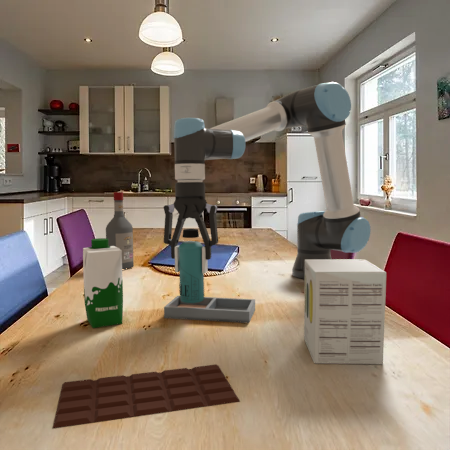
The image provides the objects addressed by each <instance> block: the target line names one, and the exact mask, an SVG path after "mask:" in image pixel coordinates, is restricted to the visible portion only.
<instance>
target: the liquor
mask: <svg viewBox="0 0 450 450" xmlns="http://www.w3.org/2000/svg"><path fill="white" fill-rule="evenodd" d="M123 200H124V192H123V191H114V192H113V203H114V204H113V205H114V206H113V207H114V209H113V211H114V212H113V213H114V214H113V217H112V219H111V220H110V221H109V222H108V223H107V225H106V227H105V238H106V239H108V242H109V246H115V247H117V248H119V249H120V250H122V269H126V268H131V267H133V268H134V265H135V264H134V262H135V261H134V234H133V230H134V228H133V225H132V224H131V222H130V221H129V220H128V219H127V218H126V217H125V213H124V201H123ZM131 269H132V268H131Z"/></svg>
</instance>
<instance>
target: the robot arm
mask: <svg viewBox="0 0 450 450" xmlns="http://www.w3.org/2000/svg"><path fill="white" fill-rule="evenodd" d="M351 110H352V100H351V97H350V95H349V93H348V91H347V90H346V88H345V87H344V86H343V85H342V84H341V83H338V82H334V81H331V82H324V83H319V84H317V85H316V84H315V85H313V86H309V87H306V88H299V89H296V90H294V91H292V92H290V93H288V94H286V95H284V96H282V97H281V98H278V99H275V100H274V101H271V102H269V103H268V104H267V105H266V107H264V108H261V109H258V110H255V111H253V112H251V113H247V114H245V115H243V116H240V117H237V118H234V119H231V120H230V121H226V122H223V123H221V124H218V125H215V126H212V127H209V128H208V127H206V126H205V121H204V120H203V119H202V118H199V117H182V118H178V119H176V120H175V122H174V129H173V141H174V179H175V181H177V182H175V183H174V193H175V195H174V196H175V199H174V202H173V204H166V205H164V206H163V211H164V214H165V215H164V229H163V244H165V245H166V244H167V245H169V246H170V253H171V254H170V257H171V259H174V272H175V273H178V272H179V273H180V268H179V246H180V245H181V244H179V242H180V241H179V240H180V237H181V234H182V232H183V228H184V224H185V222H186V219H192V220H193V219H194V220H195V222H196V223H197V226H198V231H199V232H200V236H201V238H202V241H203V244H204V246H203V247H202V273H204V274H206V273H207V272H208V271H209V270H208V269H209V266H208V261H209V260H211V258H212V246H216V245H217V244H218V243H219V234H218V233H219V232H218V224H217V211H218V206H217V204H214V205H213V204H209V203H208V202H207V200H206V183H205V182H203V181H204V180H206V164H205V162H206V161H208V160H209V161H210V160H220V159H221V160H223V159H225V160H226V159H227V160H233V159H234V160H235V159H240V158H242V157H243V155H244V153H245V150H246V142H249V141H251V140H253V139H256V138H259V137H260V136H263V135H266V134H268V133H271V132H273V131H275V132H282V131H284V130H286V129H291V128H292V129H293V128H297V127H298V128H299V127H301V128H302V127H306V129H307V133H308V134H309V135H310V136H312V137H313V141H314V145H315V146H314V147H315V152H316V157H317V162H318V168H319V173H320V178H321V183H322V190H323V195H324V201H325V206H326V210H321V211H319V210H318V211H310V212H301V213H300V214H299V215H298V217H297V224H296V226H297V230H296V231H297V234H296V235H297V245H296V246H297V253H296V257H295V259H294V263H293V266H292V276H293V277H295V278H298V279H304V280H305V259H332V256H331V251H332V250H333V251H338V252H343V253H352V254H353V253H354V254H355V253H360V252H361V251H362V250H364V249H365V247H366V246H367V244H368V241H369V240H370V237H371V230H372V229H371V224H370V222H369V220H368V219H367V218H366V217H363V216H361V212H360V208H359V207H358V206H356V205H355V203H354V199H353V198H354V197H353V193H352V192H353V190H352V185H351V180H350V175H349V168H348V162H347V156H346V150H345V143H344V137H343V130H344V128H345V127H346V125H347V123H346V120H347V119H348V117H349V116H350V114H351ZM175 210H176V211H177V213H178V216H177V221H176V225H175V229H174V231H173V216H174V212H175ZM205 210H207V213H208V217H209V218H208V219H209V220H208V221H209V227H210V235H209V232H208V229H207V227H206V223H205V221H204V220H205V219H204V216H203V213H204V211H205ZM172 232H173V233H172Z"/></svg>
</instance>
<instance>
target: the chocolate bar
mask: <svg viewBox="0 0 450 450" xmlns="http://www.w3.org/2000/svg"><path fill="white" fill-rule="evenodd" d="M238 402H239V403H240V402H241V401H240V399H239V397H238V396H237V394H236V392H235V391H234V389H233V387H232V386H231V384H230V382H229V381H228V379H227V377H226V375H225V374H224V372H223V371H222V369H221V368H220V366H219V365H218V364H216V363H215V364H209V365H207V364H206V365H200V366H194V367H192V368H187V367H183V368H181V367H180V368H175V369H174V368H173V369H167V370H166V369H165V370H163V371H160V372H157V371H149V372H141V373H132V374H131V375H129V376H127V375H124V374H123V375H115V376H113V375H112V376H107V377H106V376H104V377H99V378H97V379H95V380H94V379H91V378H89V379H79V380H73V381H72V380H71V381H66V382H63V383H62V385H61V388H60V394H59V399H58V403H57V407H56V412H55V416H54V421H53V426H52V429H57V428H66V427H72V426H80V425H85V424H87V425H88V424H93V423H100V422H107V421H113V420H114V421H115V420H121V419H122V420H123V419H127V418H128V419H129V418H134V417H142V416H148V415H156V414H163V413H169V412H170V413H171V412H177V411H183V410H191V409H198V408H206V407H213V406H218V405H219V406H220V405H225V404H232V403H233V404H234V403H238Z"/></svg>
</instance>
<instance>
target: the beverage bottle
mask: <svg viewBox="0 0 450 450" xmlns="http://www.w3.org/2000/svg"><path fill="white" fill-rule="evenodd" d="M182 238H184V239H197V238H200V235H199V228H198V229H197V228H184V229H182ZM179 245H180V246H179V268H180V271H179V283H178V284H179V285H178V286H179V289H178V290H179V296H180V299H181V301H182V302H185V303H197V302H201V301H203V300H204V297H206V296H205V277H204V276H205V275H204V274H205V273H202V247H204V246H203V244H202V242H200V241H198V240H196V241H193V240H191V241H190V240H189V241H187V240H186V241H182V242H181V244H179Z"/></svg>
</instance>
